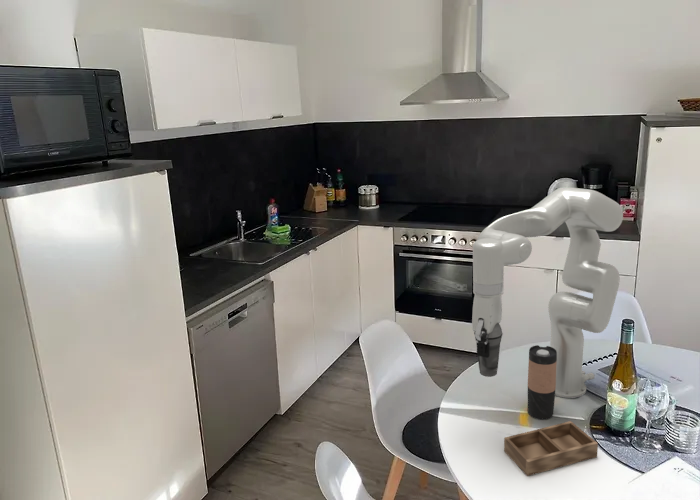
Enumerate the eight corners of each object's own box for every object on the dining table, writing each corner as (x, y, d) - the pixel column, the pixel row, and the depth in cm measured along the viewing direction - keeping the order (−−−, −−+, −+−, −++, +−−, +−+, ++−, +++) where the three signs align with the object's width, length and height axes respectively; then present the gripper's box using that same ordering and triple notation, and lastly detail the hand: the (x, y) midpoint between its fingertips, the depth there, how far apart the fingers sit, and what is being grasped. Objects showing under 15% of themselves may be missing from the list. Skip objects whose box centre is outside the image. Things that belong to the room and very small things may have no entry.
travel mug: (540, 423, 158) (543, 359, 152) (521, 410, 164) (522, 349, 159) (560, 415, 161) (563, 352, 156) (540, 403, 168) (542, 342, 162)
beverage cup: (503, 380, 145) (503, 308, 139) (474, 379, 146) (473, 308, 140) (501, 366, 151) (501, 298, 146) (474, 365, 153) (473, 297, 147)
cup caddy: (569, 434, 152) (570, 421, 151) (596, 457, 142) (598, 443, 141) (504, 451, 147) (504, 437, 146) (527, 476, 137) (527, 461, 136)
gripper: (486, 274, 151) (486, 334, 156) (461, 296, 137) (462, 361, 142) (513, 278, 147) (512, 339, 152) (490, 301, 133) (490, 367, 138)
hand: (488, 349), depth 147 cm, fingers closed on beverage cup, 6 cm apart
